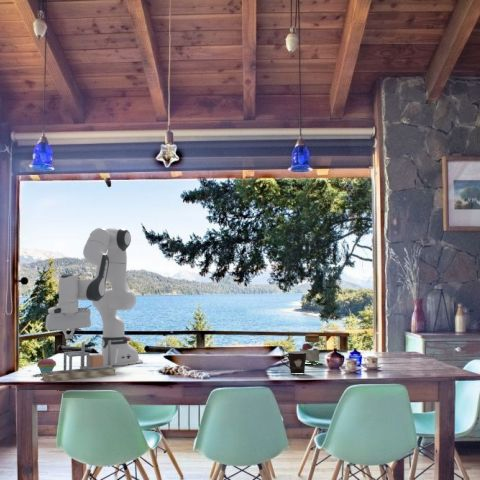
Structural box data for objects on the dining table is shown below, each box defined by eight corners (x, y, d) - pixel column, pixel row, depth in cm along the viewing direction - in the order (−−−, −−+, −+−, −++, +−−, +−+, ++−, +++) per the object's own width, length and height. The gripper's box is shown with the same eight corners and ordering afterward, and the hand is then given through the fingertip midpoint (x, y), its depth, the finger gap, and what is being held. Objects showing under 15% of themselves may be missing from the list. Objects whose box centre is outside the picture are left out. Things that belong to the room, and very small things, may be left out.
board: (107, 371, 290) (107, 365, 290) (115, 374, 281) (115, 368, 281) (42, 378, 273) (42, 371, 273) (48, 381, 264) (48, 374, 265)
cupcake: (38, 375, 280) (39, 349, 281) (35, 373, 287) (36, 347, 288) (57, 374, 284) (57, 348, 284) (54, 371, 291) (54, 346, 292)
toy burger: (302, 361, 321) (302, 333, 322) (325, 362, 316) (325, 334, 317) (296, 364, 310) (296, 335, 311) (320, 366, 305) (320, 336, 306)
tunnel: (82, 369, 283) (82, 350, 283) (89, 371, 275) (89, 353, 275) (63, 370, 278) (63, 352, 278) (69, 373, 270) (69, 354, 270)
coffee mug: (309, 372, 285) (308, 351, 285) (303, 375, 277) (302, 353, 277) (286, 371, 289) (285, 350, 290) (279, 374, 282) (279, 352, 282)
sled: (108, 365, 287) (109, 340, 288) (112, 367, 283) (112, 341, 284) (79, 368, 280) (79, 342, 280) (83, 369, 276) (83, 343, 276)
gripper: (88, 306, 284) (88, 336, 284) (44, 309, 273) (44, 339, 273) (92, 307, 279) (92, 337, 278) (48, 310, 268) (48, 341, 267)
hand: (68, 338), depth 275 cm, fingers closed
